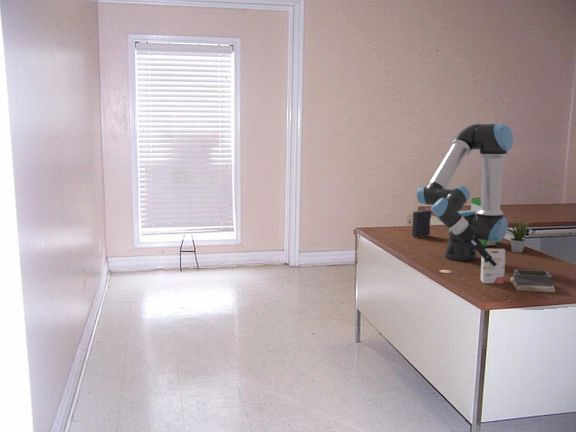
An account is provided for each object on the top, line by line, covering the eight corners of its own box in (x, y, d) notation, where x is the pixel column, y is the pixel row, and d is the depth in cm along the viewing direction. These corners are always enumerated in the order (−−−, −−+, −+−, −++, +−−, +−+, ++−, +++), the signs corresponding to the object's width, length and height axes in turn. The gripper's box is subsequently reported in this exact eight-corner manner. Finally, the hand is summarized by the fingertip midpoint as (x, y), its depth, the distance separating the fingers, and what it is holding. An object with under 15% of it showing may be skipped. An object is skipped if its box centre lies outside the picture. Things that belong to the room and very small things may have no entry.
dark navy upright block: (424, 234, 319) (425, 209, 316) (430, 236, 315) (431, 210, 313) (411, 237, 313) (412, 211, 310) (416, 238, 309) (417, 212, 307)
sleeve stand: (510, 280, 228) (511, 267, 227) (546, 282, 225) (547, 269, 224) (516, 290, 214) (517, 276, 213) (555, 292, 211) (556, 278, 210)
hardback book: (497, 246, 288) (500, 202, 284) (484, 247, 287) (487, 202, 283) (481, 239, 306) (484, 197, 301) (469, 240, 305) (471, 197, 300)
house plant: (514, 246, 288) (516, 216, 286) (538, 251, 277) (540, 220, 274) (497, 250, 281) (499, 219, 278) (521, 255, 269) (523, 223, 267)
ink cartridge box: (500, 280, 228) (503, 246, 225) (504, 283, 223) (506, 249, 220) (479, 279, 229) (481, 245, 226) (482, 283, 224) (484, 248, 221)
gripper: (453, 229, 238) (487, 264, 237) (457, 241, 214) (495, 280, 213) (466, 218, 236) (500, 253, 235) (472, 229, 212) (510, 268, 211)
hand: (498, 266), depth 224 cm, fingers open, 13 cm apart
